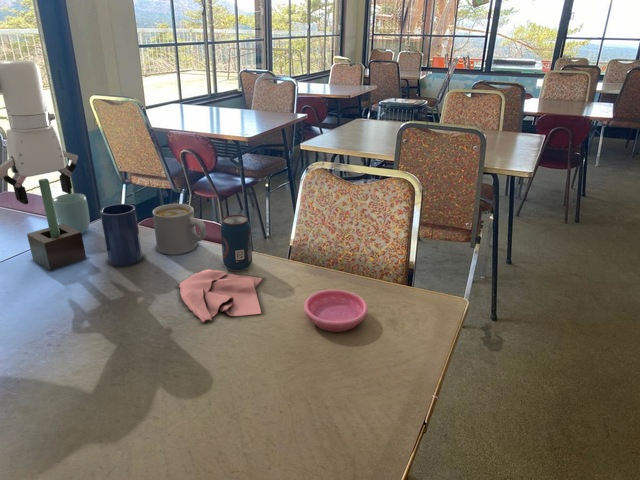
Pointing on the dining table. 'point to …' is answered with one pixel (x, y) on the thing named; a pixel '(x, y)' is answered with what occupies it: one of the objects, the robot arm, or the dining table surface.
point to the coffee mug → (176, 228)
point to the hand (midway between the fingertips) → (46, 197)
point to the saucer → (335, 310)
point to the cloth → (220, 294)
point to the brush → (49, 207)
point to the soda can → (236, 242)
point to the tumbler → (121, 234)
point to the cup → (72, 211)
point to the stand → (56, 247)
